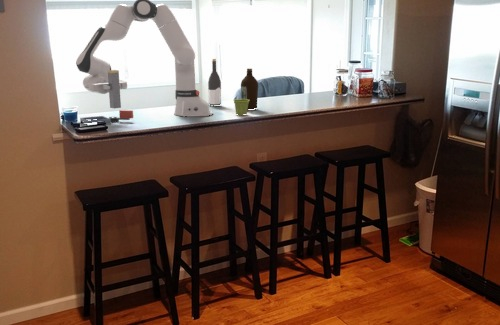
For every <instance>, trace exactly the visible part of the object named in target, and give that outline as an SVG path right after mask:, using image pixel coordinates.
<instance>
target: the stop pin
mask: <svg viewBox="0 0 500 325" xmlns="http://www.w3.org/2000/svg"><path fill="white" fill-rule="evenodd" d="M107 72H108V84H109V86H111V89H109V92H108V96H109V106H110V107H109V108H110V109H122V105H121V104H122V102H121V89H120V85H119V80H120V76H119V75H120V73H119V72H120V71H119V70H117V69H111V70H107Z"/></svg>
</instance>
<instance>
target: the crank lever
mask: <svg viewBox="0 0 500 325" xmlns="http://www.w3.org/2000/svg"><path fill="white" fill-rule="evenodd" d="M118 115H119V117H117V116H109V117H108V118H110V119H111V120H119V121H120V120H121V121H129V120H130V119H134V110H133V109H131V110H127V109H123V110H119V114H118Z"/></svg>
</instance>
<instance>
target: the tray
mask: <svg viewBox="0 0 500 325" xmlns="http://www.w3.org/2000/svg"><path fill="white" fill-rule="evenodd" d="M86 119H97V120H91V121H88V120H86ZM80 120H81V121H84V122H86V123H92V122H98V121H105V122H106V124H105V125H108V124H110V125H111V124H112V123H111V119H110V118H109V117H106V116H104V115H99V116H88V117H80ZM81 121H80V122H81Z"/></svg>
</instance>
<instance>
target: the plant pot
mask: <svg viewBox="0 0 500 325" xmlns="http://www.w3.org/2000/svg"><path fill="white" fill-rule="evenodd" d="M249 101H250V100H247V99H241V98H236V99H235V98H234V99H233V103H234V108H235V115H236V114H238V115H241V116H243V115H242V114H247V115H248V111H247V109H248V104H249ZM238 115H237V116H238Z"/></svg>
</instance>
